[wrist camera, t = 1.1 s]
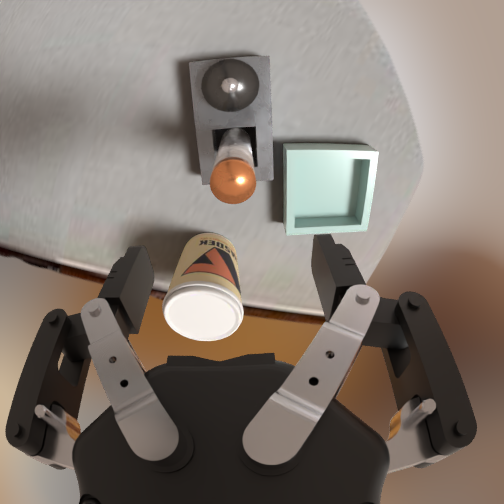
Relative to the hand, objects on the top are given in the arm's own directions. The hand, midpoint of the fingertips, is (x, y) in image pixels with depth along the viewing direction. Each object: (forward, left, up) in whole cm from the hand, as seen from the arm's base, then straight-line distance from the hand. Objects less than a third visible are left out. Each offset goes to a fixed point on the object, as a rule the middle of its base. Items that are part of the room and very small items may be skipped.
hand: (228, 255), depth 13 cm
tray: (+6, +11, -22) cm, 25 cm away
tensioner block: (-3, 0, -22) cm, 22 cm away
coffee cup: (+16, -5, -22) cm, 28 cm away
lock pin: (0, 0, -22) cm, 22 cm away
